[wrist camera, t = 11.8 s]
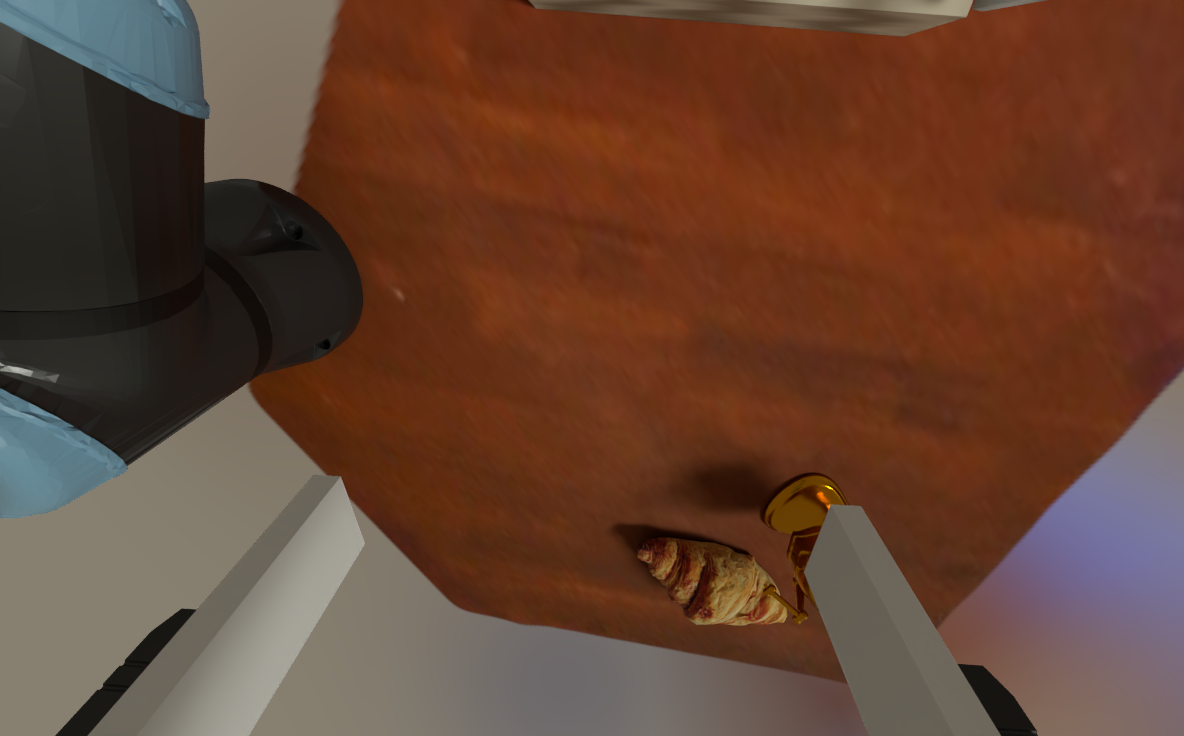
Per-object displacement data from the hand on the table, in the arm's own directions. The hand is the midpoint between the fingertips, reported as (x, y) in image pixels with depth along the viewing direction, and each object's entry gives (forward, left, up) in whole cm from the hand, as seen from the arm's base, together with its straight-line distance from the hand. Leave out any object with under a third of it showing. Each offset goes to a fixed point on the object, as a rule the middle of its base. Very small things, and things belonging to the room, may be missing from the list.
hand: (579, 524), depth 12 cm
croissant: (+15, -35, -27) cm, 47 cm away
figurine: (+23, -24, -26) cm, 42 cm away
